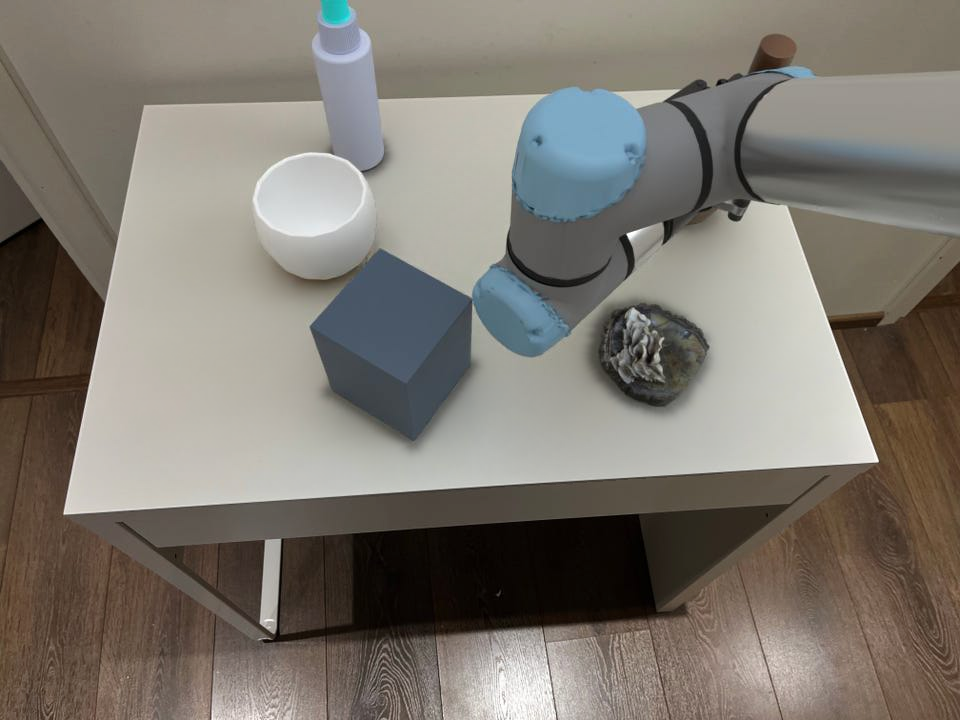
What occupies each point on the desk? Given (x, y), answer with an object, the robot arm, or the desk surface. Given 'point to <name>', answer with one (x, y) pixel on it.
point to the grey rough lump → (651, 352)
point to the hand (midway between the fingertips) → (784, 79)
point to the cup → (315, 215)
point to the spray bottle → (348, 85)
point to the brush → (773, 53)
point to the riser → (395, 342)
